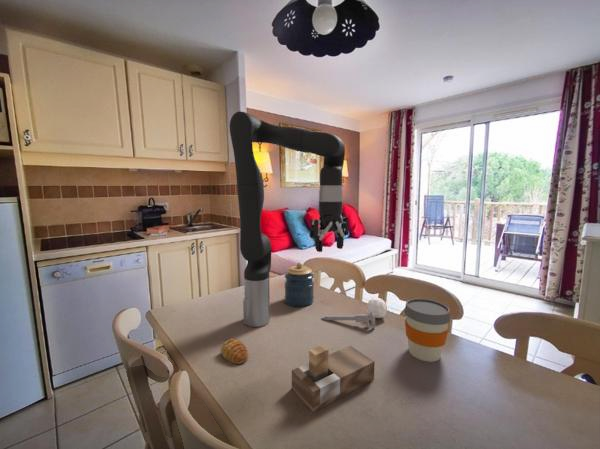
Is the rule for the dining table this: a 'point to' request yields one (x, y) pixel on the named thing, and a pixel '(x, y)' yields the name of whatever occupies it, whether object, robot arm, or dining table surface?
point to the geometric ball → (377, 307)
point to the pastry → (234, 351)
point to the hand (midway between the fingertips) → (329, 249)
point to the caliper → (354, 318)
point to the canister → (299, 286)
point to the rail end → (318, 363)
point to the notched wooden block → (333, 378)
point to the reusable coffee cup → (426, 328)
